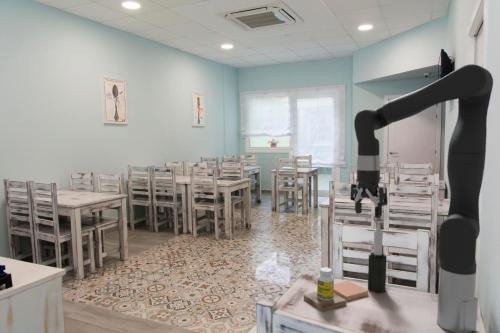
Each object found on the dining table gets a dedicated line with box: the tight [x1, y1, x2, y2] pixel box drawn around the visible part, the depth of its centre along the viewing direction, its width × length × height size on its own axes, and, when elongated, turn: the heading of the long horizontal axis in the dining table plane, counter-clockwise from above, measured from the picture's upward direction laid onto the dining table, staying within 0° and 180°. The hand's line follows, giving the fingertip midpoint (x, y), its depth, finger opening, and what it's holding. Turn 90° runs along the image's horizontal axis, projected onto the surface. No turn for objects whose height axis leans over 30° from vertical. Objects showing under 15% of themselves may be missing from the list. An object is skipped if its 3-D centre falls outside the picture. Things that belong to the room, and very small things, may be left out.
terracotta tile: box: [334, 280, 369, 302], centre depth 129 cm, size 10×10×2 cm
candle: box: [367, 222, 387, 295], centre depth 130 cm, size 5×5×25 cm
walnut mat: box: [303, 291, 347, 312], centre depth 122 cm, size 10×10×2 cm
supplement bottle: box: [316, 266, 335, 301], centre depth 121 cm, size 5×5×10 cm
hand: (367, 215), depth 124 cm, fingers open, 8 cm apart
